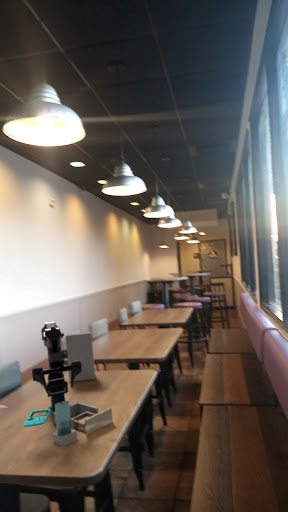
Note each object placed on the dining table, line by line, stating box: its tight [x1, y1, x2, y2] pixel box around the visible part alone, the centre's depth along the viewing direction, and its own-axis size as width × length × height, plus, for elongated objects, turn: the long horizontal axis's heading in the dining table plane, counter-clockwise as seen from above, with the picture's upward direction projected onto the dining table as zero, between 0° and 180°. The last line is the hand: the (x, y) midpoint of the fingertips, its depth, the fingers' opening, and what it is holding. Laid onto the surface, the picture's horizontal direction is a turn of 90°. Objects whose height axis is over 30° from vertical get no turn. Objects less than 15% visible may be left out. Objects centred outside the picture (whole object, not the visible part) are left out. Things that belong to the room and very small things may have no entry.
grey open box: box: [52, 402, 99, 430], centre depth 148 cm, size 13×13×4 cm
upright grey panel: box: [64, 331, 96, 383], centre depth 203 cm, size 14×6×25 cm, turn 94°
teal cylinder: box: [54, 400, 72, 435], centre depth 132 cm, size 5×5×10 cm
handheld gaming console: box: [23, 408, 52, 427], centre depth 155 cm, size 8×1×15 cm
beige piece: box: [72, 407, 114, 436], centre depth 143 cm, size 13×13×5 cm
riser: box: [52, 429, 78, 447], centre depth 131 cm, size 6×6×3 cm
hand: (59, 390), depth 139 cm, fingers open, 9 cm apart
